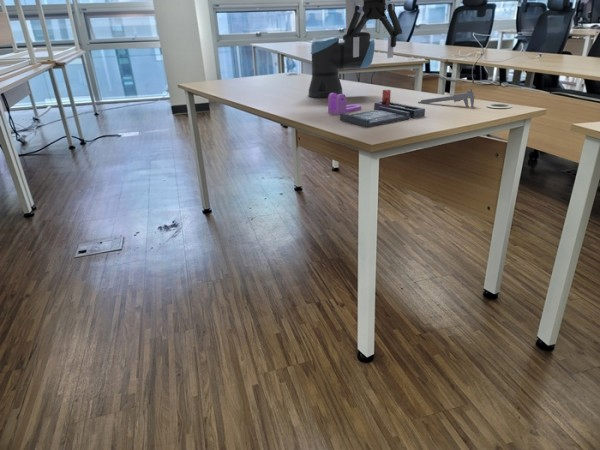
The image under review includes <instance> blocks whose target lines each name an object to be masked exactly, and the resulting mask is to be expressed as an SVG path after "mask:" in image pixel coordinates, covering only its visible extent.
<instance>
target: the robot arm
mask: <svg viewBox="0 0 600 450" xmlns="http://www.w3.org/2000/svg"><path fill="white" fill-rule="evenodd" d="M386 1H387V0H345V1H344V3H345V32H344V33H343V35H342V39H341V40H340V38H339V36H332V37H324V38H320V39H316V40H314V41H313V42H312V43H311V49H310V50H311V52H310V54H311V80H310V83H309V87H308V96H309V97H312V98H324V99H325V98H328V96H329V94H330V93H336V94H337V95H338V94H343V87H342V83H341V80H340V75H339V72H340V71H339V70H351V69H352V70H353V69H359V70H361V69H366V68H369V67H370V66H371V65H372V63H373V59H374V55H375V45H376V43H375V39H374V38H371V33H370V31H368V29H367V22H368V21H369V20H370V21H371V20H379V21H381V23H382V25H383V26H384V28H385V30H386V31H387V33H388V34H389V37H388V36H387V53H386V54H387V57H386V58H387V59H393V58H394V48H395V47H396V45H397V37H398V36H399V35H402V34H403V30H402V27H401V25H400V22H399V20H398V16H397V13H396V8H395V3H388V4H387V3H386ZM385 12H388V16H389V19H388V16H387V14H386V13H385ZM389 20H390V21H389Z"/></svg>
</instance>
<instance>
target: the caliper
mask: <svg viewBox="0 0 600 450" xmlns="http://www.w3.org/2000/svg"><path fill="white" fill-rule="evenodd" d="M466 91H467V92H461V93H456V94H453V95H448V96H441V97H433V98H426V99H425V98H424V99H421V100H420V101H418V102H417V103H418V104H425V103H426V104H432V103H433V104H434V103H439V102H440V103H441V102H448V101H453V102H454V103H456V102H461V101H463V103H464V105H465V106H466V107H469V102H468V101H469V99H470V107H473V106H475V105H474V103H475V93H474V91H473V90H472V89H467V90H466Z"/></svg>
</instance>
